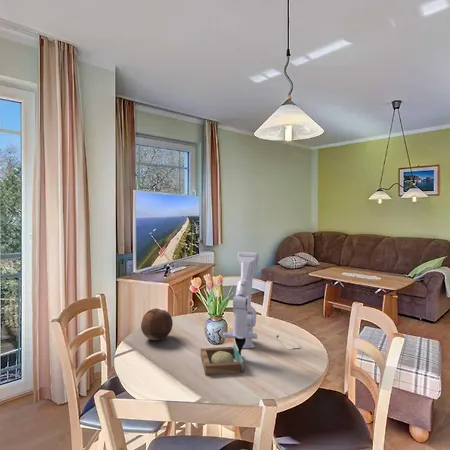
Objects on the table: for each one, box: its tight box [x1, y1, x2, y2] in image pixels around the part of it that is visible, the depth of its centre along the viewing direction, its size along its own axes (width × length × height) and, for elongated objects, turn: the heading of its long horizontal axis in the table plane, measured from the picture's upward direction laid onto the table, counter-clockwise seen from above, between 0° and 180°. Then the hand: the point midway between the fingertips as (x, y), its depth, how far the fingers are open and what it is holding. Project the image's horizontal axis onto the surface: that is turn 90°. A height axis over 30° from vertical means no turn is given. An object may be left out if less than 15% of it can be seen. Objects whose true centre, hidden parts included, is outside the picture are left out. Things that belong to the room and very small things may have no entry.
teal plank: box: [232, 344, 245, 373], centre depth 138 cm, size 17×1×4 cm, turn 11°
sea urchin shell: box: [210, 351, 234, 363], centre depth 137 cm, size 9×8×8 cm
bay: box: [200, 346, 242, 376], centre depth 137 cm, size 16×14×4 cm
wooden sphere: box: [140, 307, 173, 341], centre depth 160 cm, size 15×15×15 cm
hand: (239, 354), depth 141 cm, fingers closed
